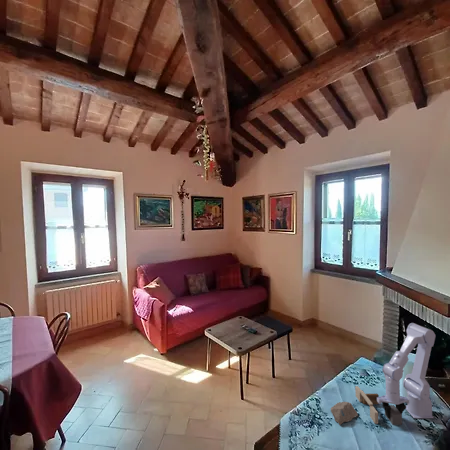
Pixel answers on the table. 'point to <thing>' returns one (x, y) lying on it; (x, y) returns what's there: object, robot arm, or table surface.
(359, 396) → the wall frame
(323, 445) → the table surface
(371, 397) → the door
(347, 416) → the concrete fragment
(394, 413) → the grey rectangular block
